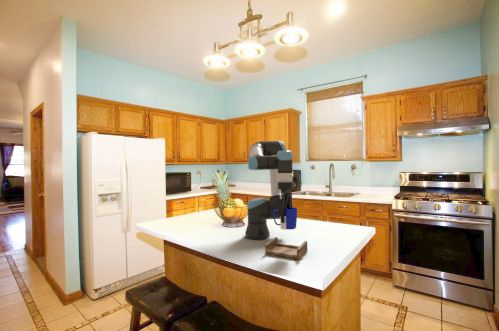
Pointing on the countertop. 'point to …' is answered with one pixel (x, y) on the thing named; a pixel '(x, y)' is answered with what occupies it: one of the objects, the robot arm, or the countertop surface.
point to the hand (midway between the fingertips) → (286, 227)
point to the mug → (289, 218)
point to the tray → (285, 249)
